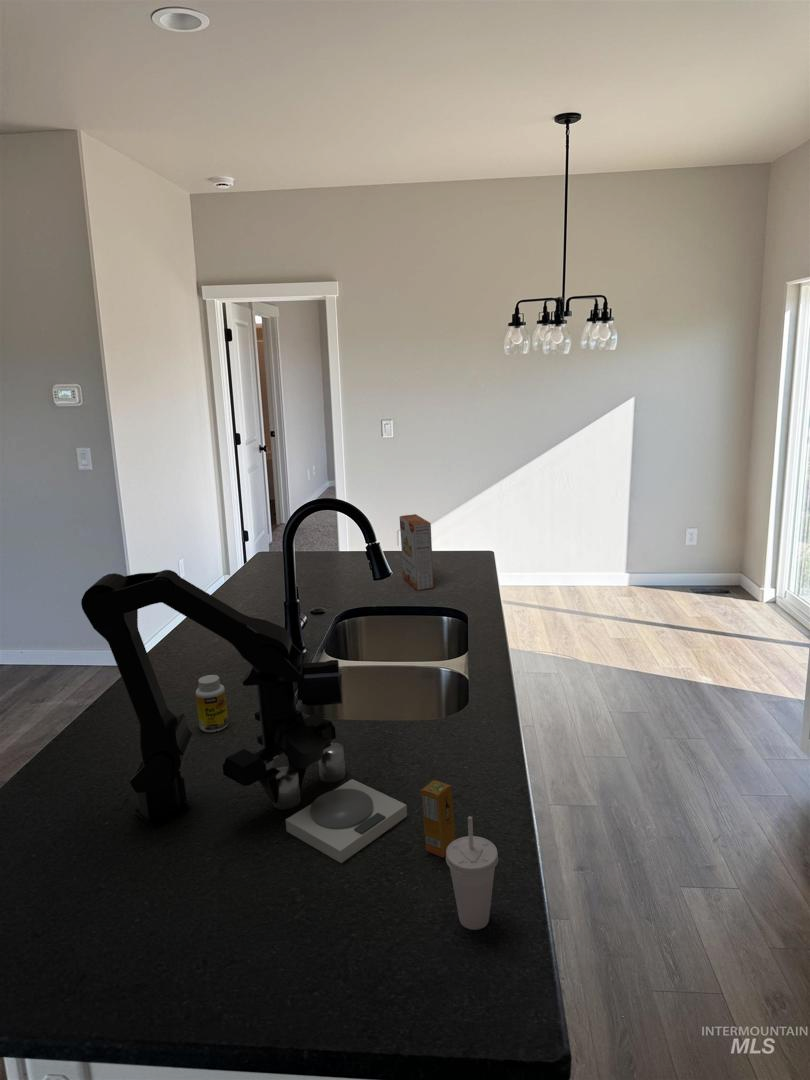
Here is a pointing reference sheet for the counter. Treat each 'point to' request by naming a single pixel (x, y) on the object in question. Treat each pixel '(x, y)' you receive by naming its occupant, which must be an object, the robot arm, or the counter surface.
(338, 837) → the scale
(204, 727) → the supplement bottle
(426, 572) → the cracker box
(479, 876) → the smoothie
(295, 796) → the spacer
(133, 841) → the counter surface
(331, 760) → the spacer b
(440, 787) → the supplement box
